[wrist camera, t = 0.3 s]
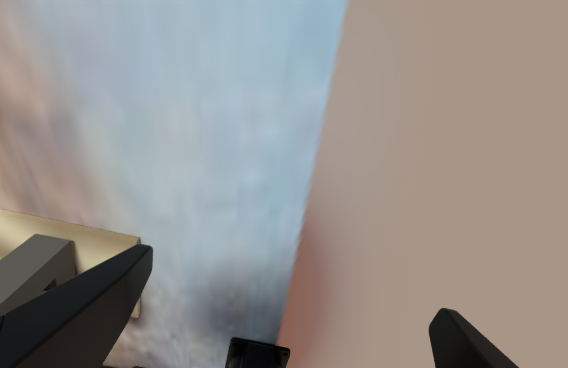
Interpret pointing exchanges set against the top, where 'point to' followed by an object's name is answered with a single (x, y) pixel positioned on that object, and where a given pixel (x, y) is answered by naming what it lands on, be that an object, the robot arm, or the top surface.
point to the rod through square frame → (84, 240)
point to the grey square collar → (34, 270)
